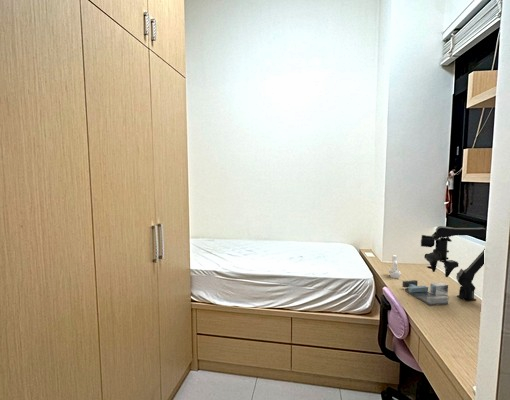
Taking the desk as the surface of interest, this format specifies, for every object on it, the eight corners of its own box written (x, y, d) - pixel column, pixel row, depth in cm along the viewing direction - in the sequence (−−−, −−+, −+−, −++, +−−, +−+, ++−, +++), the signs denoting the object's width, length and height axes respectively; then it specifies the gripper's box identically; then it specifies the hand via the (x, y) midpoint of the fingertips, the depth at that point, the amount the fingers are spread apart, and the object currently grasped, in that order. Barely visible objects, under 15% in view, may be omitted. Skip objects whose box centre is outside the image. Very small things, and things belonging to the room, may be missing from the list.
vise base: (421, 289, 174) (421, 284, 173) (448, 304, 155) (448, 297, 154) (405, 291, 172) (405, 285, 172) (430, 305, 153) (430, 299, 152)
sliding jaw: (417, 285, 178) (417, 280, 177) (428, 291, 169) (428, 285, 168) (401, 286, 176) (401, 281, 175) (411, 292, 167) (411, 286, 167)
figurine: (389, 278, 193) (390, 256, 191) (387, 274, 202) (388, 253, 200) (401, 279, 190) (402, 257, 189) (398, 275, 199) (399, 254, 198)
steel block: (442, 292, 170) (442, 282, 170) (447, 295, 166) (448, 285, 166) (430, 293, 169) (430, 283, 169) (435, 296, 165) (436, 286, 165)
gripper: (417, 245, 173) (416, 270, 174) (442, 253, 155) (440, 281, 156) (433, 244, 175) (432, 269, 176) (460, 252, 157) (458, 279, 158)
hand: (439, 274), depth 167 cm, fingers open, 9 cm apart
